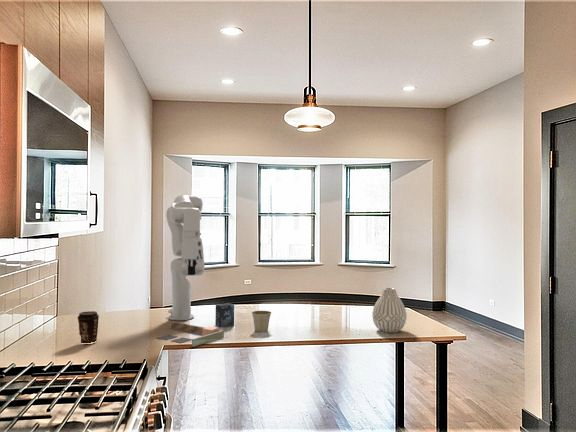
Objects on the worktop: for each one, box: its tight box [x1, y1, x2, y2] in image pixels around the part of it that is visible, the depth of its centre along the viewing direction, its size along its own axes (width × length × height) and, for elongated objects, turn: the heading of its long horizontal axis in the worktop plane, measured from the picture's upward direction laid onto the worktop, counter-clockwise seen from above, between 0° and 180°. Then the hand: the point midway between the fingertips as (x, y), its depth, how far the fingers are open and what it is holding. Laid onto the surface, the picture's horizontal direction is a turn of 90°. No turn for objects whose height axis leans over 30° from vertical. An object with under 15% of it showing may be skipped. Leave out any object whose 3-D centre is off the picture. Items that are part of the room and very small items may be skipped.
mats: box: [157, 334, 193, 344], centre depth 222 cm, size 15×7×1 cm, turn 56°
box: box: [214, 302, 235, 328], centre depth 248 cm, size 8×6×11 cm
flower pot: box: [251, 310, 272, 333], centre depth 238 cm, size 9×9×9 cm
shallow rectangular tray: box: [169, 321, 225, 348], centre depth 226 cm, size 33×19×3 cm, turn 56°
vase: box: [371, 287, 408, 334], centre depth 238 cm, size 16×16×20 cm
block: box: [201, 326, 219, 336], centre depth 224 cm, size 5×5×4 cm
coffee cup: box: [77, 310, 100, 343], centre depth 214 cm, size 9×8×13 cm
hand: (191, 274), depth 232 cm, fingers closed
